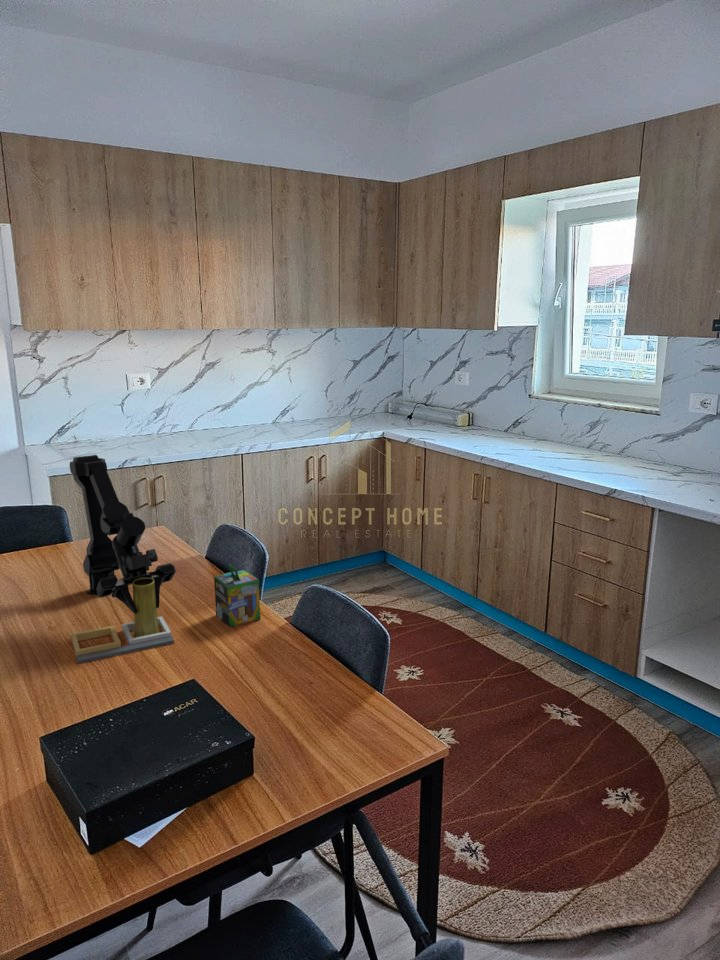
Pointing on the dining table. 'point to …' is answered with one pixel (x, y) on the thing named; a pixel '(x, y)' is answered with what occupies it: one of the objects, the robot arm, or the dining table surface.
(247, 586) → the chalk box
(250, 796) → the dining table surface
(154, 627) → the vase
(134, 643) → the socket panel
